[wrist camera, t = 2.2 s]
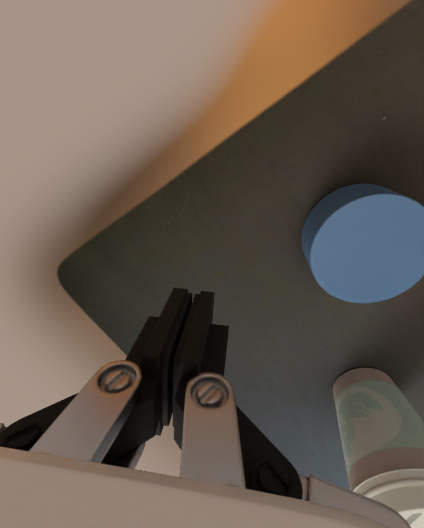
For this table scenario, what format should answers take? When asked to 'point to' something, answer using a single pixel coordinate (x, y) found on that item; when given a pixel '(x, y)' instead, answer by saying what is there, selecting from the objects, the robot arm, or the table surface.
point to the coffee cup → (381, 442)
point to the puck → (365, 243)
